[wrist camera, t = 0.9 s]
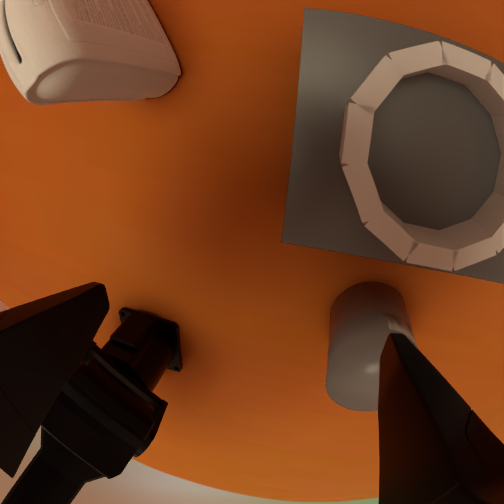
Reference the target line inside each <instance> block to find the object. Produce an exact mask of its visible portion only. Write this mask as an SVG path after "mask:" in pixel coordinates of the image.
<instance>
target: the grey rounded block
mask: <svg viewBox="0 0 504 504" xmlns="http://www.w3.org/2000/svg"><path fill="white" fill-rule="evenodd" d="M392 332H393V333H402V334H404V335H405V336H406V337H407V338H408V339H409V340H410V341H411V342H412V343H413V344H414V345H415V346H416V342H415V338H414V335H413V331H412V328H411V324H410V321H409V317H408V314H407V311H406V307H405V304H404V301H403V299H402V297H401V295H400V294H399V293H398V292H397V291H396V290H395V289H394V288H393V287H391V286H389V285H387V284H384V283H380V282H364V283H359V284H356V285H354V286H352V287H350V288H348V289H346V290H345V291H344V292H342V293H341V294H340V295H339V296H338V297H337V299H336V300H335V302H334V304H333V306H332V309H331V314H330V333H329V349H328V363H327V375H326V390H327V393H328V394H329V396H330V397H331V399H332V400H333V401H335V402H336V403H337V404H339V405H341V406H343V407H345V408H348V409H351V410H356V411H376V410H378V394H379V368H380V356H381V353H382V350H383V347H384V345H385V342H386V339H387V337H388V335H389V334H390V333H392ZM416 347H417V346H416Z"/></svg>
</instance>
